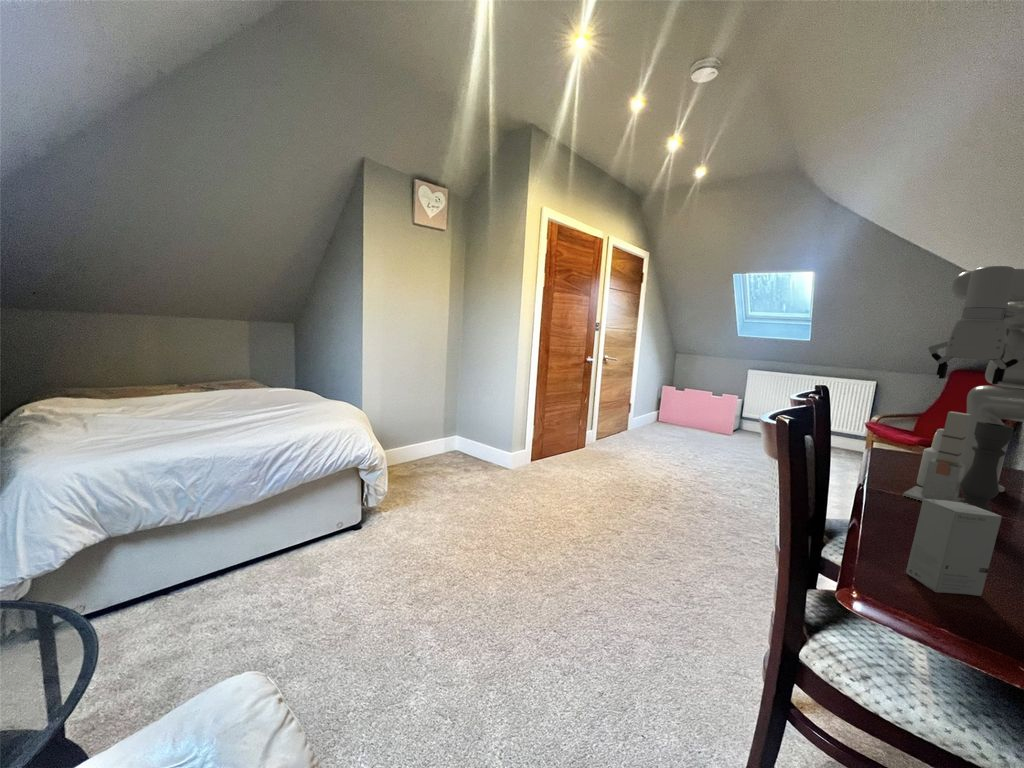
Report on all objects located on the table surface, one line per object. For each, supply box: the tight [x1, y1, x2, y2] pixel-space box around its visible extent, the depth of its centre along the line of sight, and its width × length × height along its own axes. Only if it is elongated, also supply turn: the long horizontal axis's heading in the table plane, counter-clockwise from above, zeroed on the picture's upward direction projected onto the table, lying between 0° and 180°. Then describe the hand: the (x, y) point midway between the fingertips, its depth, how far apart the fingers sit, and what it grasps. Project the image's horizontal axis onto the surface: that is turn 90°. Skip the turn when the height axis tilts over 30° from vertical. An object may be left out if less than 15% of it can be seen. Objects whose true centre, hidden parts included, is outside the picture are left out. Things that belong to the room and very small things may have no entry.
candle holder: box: [957, 422, 1015, 513], centre depth 97 cm, size 6×6×25 cm
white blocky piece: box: [902, 458, 966, 502], centre depth 113 cm, size 12×12×12 cm
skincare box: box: [905, 499, 1003, 597], centre depth 72 cm, size 8×6×15 cm
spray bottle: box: [916, 428, 944, 488], centre depth 123 cm, size 7×7×18 cm
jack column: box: [936, 411, 971, 467], centre depth 111 cm, size 4×4×18 cm
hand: (967, 381), depth 108 cm, fingers open, 9 cm apart
